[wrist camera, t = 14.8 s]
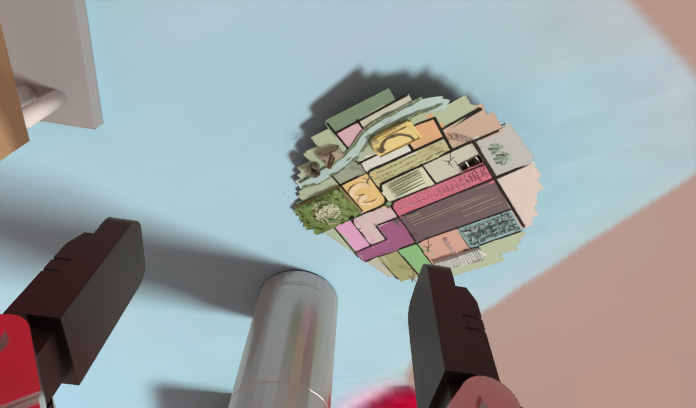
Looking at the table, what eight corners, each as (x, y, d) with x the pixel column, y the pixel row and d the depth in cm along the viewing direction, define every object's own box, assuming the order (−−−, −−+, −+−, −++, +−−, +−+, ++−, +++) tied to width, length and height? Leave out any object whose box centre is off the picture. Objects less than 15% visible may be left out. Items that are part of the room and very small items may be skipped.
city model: (246, 196, 48) (229, 235, 43) (378, 9, 35) (375, 36, 30) (425, 294, 55) (428, 337, 51) (590, 172, 42) (613, 214, 38)
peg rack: (103, 122, 41) (56, 160, 35) (13, 108, 41) (-51, 144, 34) (72, -81, 32) (2, -80, 26) (-42, -102, 32) (-142, -106, 26)
